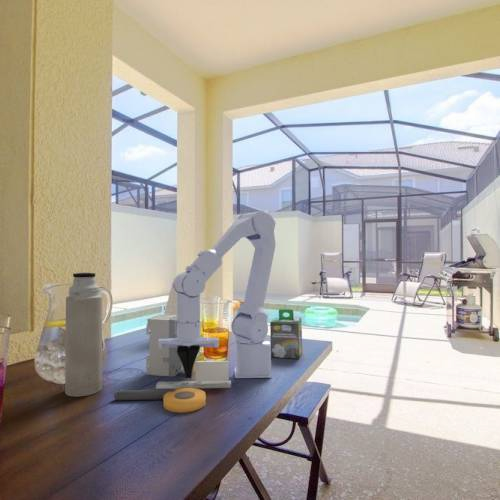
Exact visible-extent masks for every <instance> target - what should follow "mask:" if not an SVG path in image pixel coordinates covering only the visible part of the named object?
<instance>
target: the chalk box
mask: <svg viewBox="0 0 500 500" xmlns="http://www.w3.org/2000/svg"><path fill="white" fill-rule="evenodd" d="M284 313H286V314H289V315H288V316H285V315H284ZM269 324H270V325H269V329H270V333H269V334H270V347H271V358H279V359H281V358H282V359H294V360H299V359H300V358H301V355H302V353H303V331H302V330H303V329H302V328H303V327H302V317H299V316H298V317H295V316H294V309H283V308H281V309H278V316H276V317H274V318H273V319H272V320H271V321H270V323H269Z"/></svg>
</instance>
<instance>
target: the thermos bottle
mask: <svg viewBox="0 0 500 500" xmlns="http://www.w3.org/2000/svg"><path fill="white" fill-rule="evenodd" d="M72 277H73V281H72V285H71V286H70V287H68V296H66V297H65V349H64V350H65V355H64V356H65V362H64V363H65V366H64V367H65V371H64V372H65V373H64V374H65V378H64V380H65V383H64V385H65V386H64V387H65V388H64V393H65V395H66V396H68V397H78V398H79V397H85V396H91V395H94V394H96V393H98V392H100V391H101V390H102V389H103V295H100V290H101V289H100V286H99V285H97V284H96V278H95V277H96V272H95V273H94V272H77V273H72Z"/></svg>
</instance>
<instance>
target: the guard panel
mask: <svg viewBox="0 0 500 500" xmlns="http://www.w3.org/2000/svg"><path fill="white" fill-rule="evenodd" d="M229 371H230V370H229V360H195V381H196V382H216V381H229V379H230V377H229Z"/></svg>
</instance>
